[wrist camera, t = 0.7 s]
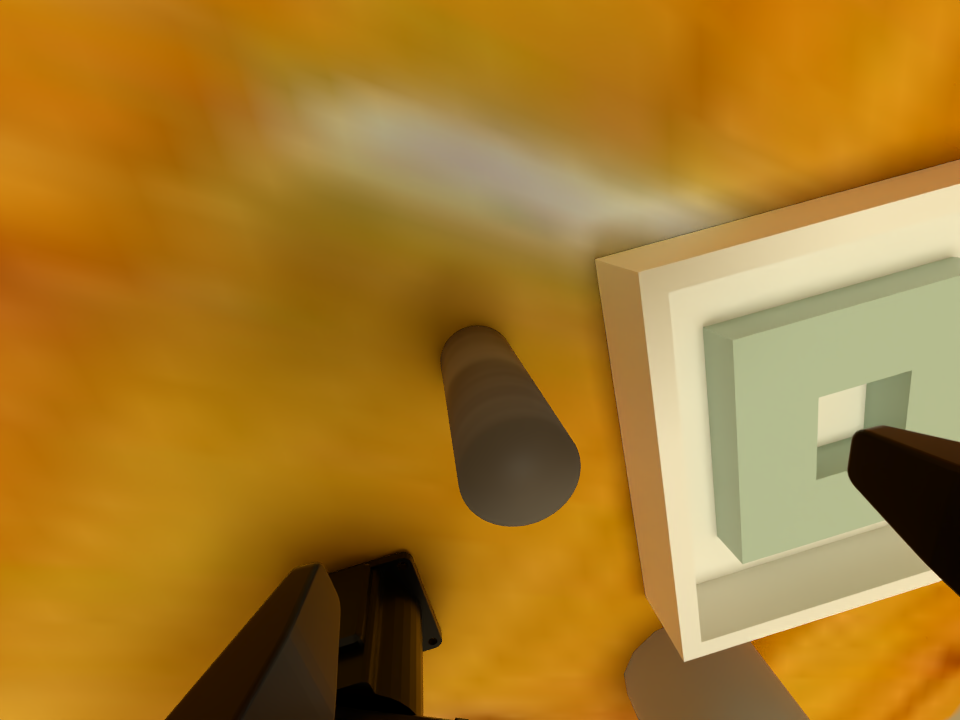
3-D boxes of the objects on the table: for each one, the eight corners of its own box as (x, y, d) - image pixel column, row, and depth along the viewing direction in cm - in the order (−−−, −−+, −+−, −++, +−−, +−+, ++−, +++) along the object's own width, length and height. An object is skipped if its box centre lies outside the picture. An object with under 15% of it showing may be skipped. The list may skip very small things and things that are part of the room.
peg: (518, 382, 20) (589, 506, 12) (451, 401, 20) (475, 540, 12) (502, 317, 19) (569, 403, 11) (432, 336, 19) (443, 439, 11)
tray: (959, 499, 27) (1046, 547, 23) (645, 596, 26) (684, 661, 22) (1020, 142, 20) (1160, 128, 16) (594, 259, 19) (638, 272, 15)
